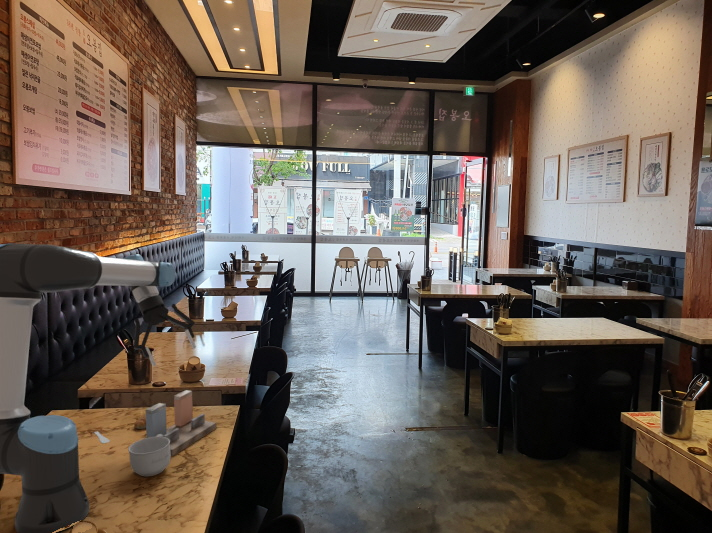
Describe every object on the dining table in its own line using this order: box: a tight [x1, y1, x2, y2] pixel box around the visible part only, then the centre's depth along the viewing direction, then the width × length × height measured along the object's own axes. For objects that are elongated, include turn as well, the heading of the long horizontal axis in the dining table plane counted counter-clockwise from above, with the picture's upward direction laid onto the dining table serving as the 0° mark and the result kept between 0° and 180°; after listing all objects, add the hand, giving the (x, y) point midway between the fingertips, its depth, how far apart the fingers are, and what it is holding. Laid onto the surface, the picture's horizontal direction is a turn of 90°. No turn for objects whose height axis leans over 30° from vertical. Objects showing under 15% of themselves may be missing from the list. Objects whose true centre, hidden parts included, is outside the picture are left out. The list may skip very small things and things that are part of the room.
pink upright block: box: [173, 389, 194, 426], centre depth 176 cm, size 6×2×10 cm, turn 160°
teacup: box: [127, 434, 172, 477], centre depth 149 cm, size 14×11×8 cm
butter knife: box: [93, 431, 111, 444], centre depth 175 cm, size 1×24×3 cm
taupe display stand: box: [163, 413, 217, 457], centre depth 169 cm, size 22×12×5 cm, turn 160°
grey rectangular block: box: [145, 402, 168, 438], centre depth 164 cm, size 6×2×10 cm, turn 160°
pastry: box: [134, 413, 146, 430], centre depth 181 cm, size 9×7×4 cm
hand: (174, 356), depth 175 cm, fingers open, 13 cm apart
